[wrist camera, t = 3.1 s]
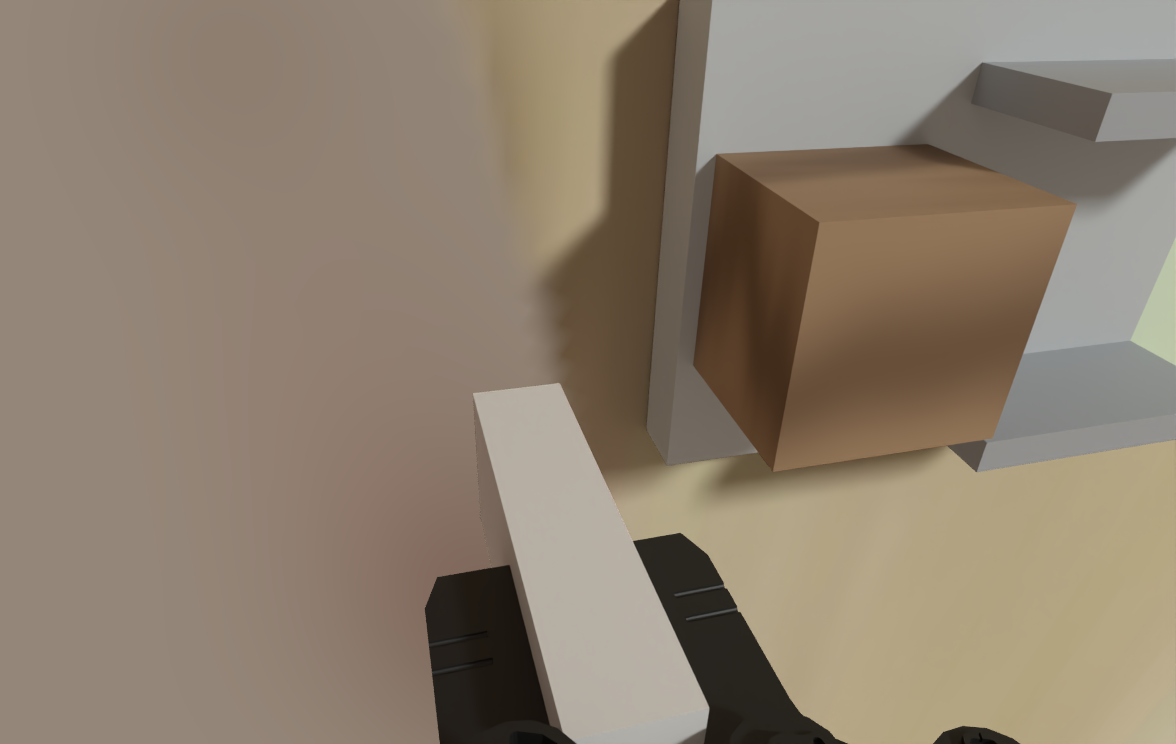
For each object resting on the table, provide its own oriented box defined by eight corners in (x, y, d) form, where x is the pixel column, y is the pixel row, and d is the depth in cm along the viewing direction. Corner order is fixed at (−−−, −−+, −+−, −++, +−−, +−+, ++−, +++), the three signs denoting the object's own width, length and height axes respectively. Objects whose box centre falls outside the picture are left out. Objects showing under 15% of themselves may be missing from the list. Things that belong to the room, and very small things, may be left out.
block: (716, 153, 19) (819, 222, 15) (927, 143, 20) (1076, 203, 16) (693, 365, 22) (773, 472, 18) (877, 344, 23) (992, 438, 19)
